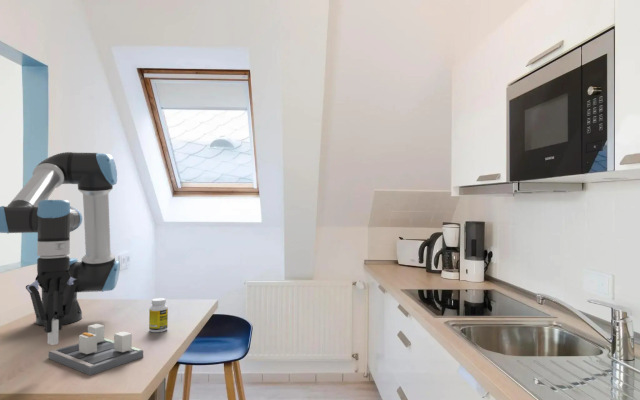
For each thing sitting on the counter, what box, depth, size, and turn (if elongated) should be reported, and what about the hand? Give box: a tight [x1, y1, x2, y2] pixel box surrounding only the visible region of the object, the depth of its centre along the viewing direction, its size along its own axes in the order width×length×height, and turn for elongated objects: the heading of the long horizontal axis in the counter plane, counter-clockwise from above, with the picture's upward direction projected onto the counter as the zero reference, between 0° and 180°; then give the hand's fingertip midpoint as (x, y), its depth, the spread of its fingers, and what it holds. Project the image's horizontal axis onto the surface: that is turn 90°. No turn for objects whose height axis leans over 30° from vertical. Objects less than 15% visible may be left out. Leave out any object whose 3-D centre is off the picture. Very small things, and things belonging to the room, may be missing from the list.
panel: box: [47, 337, 144, 376], centre depth 128 cm, size 22×16×2 cm
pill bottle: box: [148, 297, 169, 333], centre depth 155 cm, size 6×6×11 cm
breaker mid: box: [78, 332, 97, 354], centre depth 126 cm, size 4×3×5 cm
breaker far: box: [87, 323, 105, 343], centre depth 135 cm, size 4×3×5 cm
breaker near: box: [113, 331, 133, 352], centre depth 127 cm, size 4×3×5 cm
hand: (52, 343), depth 117 cm, fingers closed
